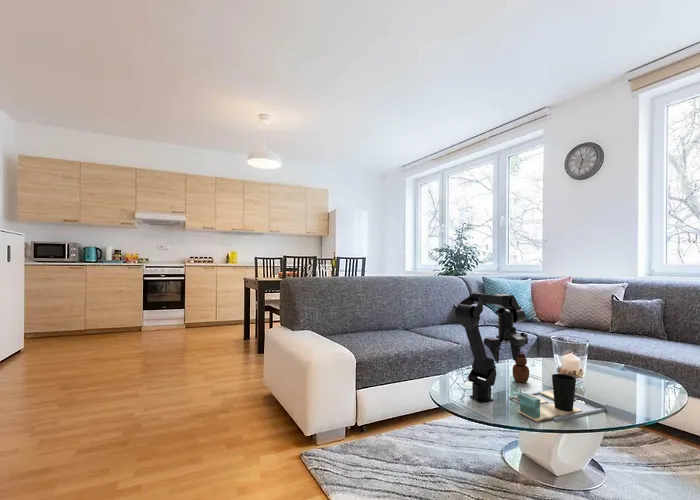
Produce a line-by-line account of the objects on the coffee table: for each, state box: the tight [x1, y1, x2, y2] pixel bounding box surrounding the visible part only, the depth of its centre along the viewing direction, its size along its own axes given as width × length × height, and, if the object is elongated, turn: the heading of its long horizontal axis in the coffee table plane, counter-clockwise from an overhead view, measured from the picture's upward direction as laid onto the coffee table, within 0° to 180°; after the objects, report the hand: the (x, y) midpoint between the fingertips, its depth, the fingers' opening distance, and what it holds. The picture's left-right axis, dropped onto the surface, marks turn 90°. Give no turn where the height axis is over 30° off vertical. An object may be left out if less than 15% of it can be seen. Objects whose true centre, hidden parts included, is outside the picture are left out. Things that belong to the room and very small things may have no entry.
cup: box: [551, 373, 577, 411], centre depth 134 cm, size 8×8×12 cm
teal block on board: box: [517, 392, 582, 422], centre depth 132 cm, size 22×8×7 cm, turn 110°
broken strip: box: [515, 389, 554, 405], centre depth 144 cm, size 22×8×2 cm, turn 110°
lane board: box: [508, 388, 608, 422], centre depth 140 cm, size 25×21×2 cm
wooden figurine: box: [512, 350, 530, 384], centre depth 165 cm, size 7×6×15 cm
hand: (505, 361), depth 154 cm, fingers open, 9 cm apart
